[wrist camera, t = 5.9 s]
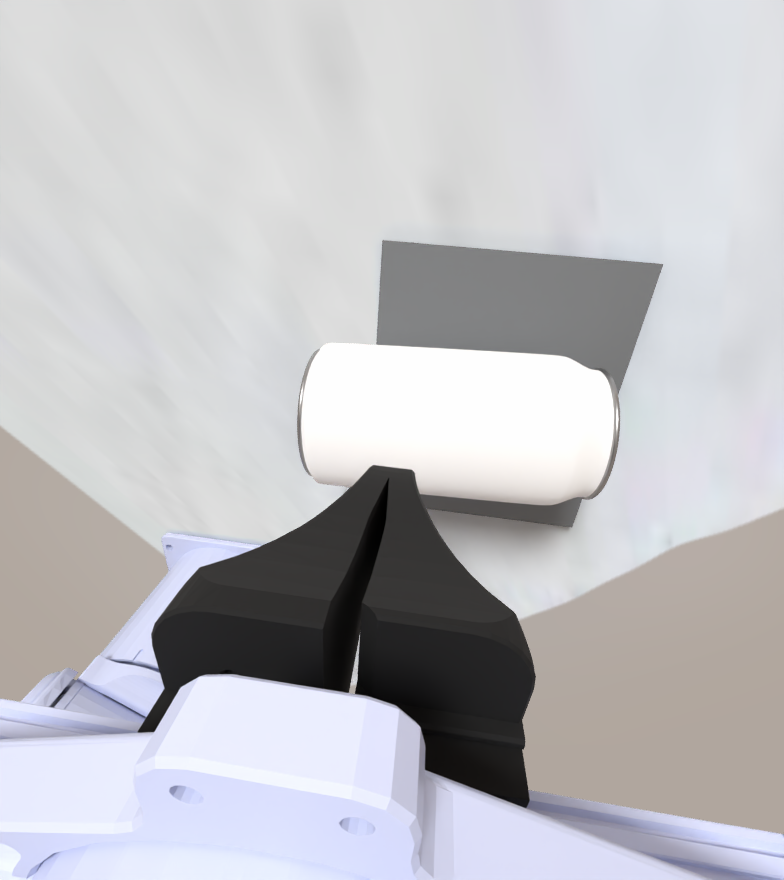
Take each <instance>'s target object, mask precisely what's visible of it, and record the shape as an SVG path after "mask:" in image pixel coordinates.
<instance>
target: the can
mask: <svg viewBox="0 0 784 880" xmlns="http://www.w3.org/2000/svg"><path fill="white" fill-rule="evenodd" d="M619 431H620V407H619V398H618V393H617V389H616V386H615V383H614V380H613V378H612V376H611V375H610V374H609V372H608V371H606V370H605V369H603V368H595V369H589V368H587V367H585V366H583V365H581V364H580V363H578V362H576V361H574V360H572V359H570V358H568V357H564V356H558V355H546V354H531V353H515V352H498V351H481V350H463V349H445V348H427V347H409V346H390V345H371V344H350V343H327V344H325V345H324V346H323V347H322V348H321V349H318V350H317V351H315V352H314V353H313V355H312V356H311V358H310V360H309V362H308V364H307V366H306V369H305V372H304V376H303V379H302V384H301V389H300V395H299V403H298V416H297V433H298V445H299V452H300V457H301V461H302V464H303V466H304V469H305V470H306V472H307V473H308V474H309V475H310V476H312V477H313V479H314V480H315V481H316V482H317V483H320V484H327V485H335V486H345V487H352V486H353V485H354V484H355V483H356V482H357V481H358V480H359V479H360V477H361V476H362V475H363V474H364V473H365V472H366V471H367V470H368V469H369V467H371V466H372V465H378V466H386V467H394V468H403V469H411V470H413V471H414V473H415V478H416V483H417V487H418V490H419V493H420V494H425V495H435V496H446V497H456V498H466V499H477V500H488V501H498V502H509V503H521V504H532V505H555V504H558V503H561V502H564V501H567V500H570V499H572V498H576V497H580V498H582V499H585V500H589V499H593V498H594V497H596V496H597V495H598V494H599V493H600V492H601V491H602V489H603V488H604V486H605V484H606V483H607V481H608V478H609V476H610V474H611V471H612V468H613V465H614V461H615V457H616V453H617V447H618V441H619Z"/></svg>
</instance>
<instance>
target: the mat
mask: <svg viewBox="0 0 784 880" xmlns="http://www.w3.org/2000/svg"><path fill="white" fill-rule="evenodd" d="M662 266H663V264H655V263H643V262H631V261H619V260H608V259H596V258H584V257H572V256H561V255H549V254H537V253H525V252H513V251H502V250H490V249H478V248H466V247H455V246H443V245H431V244H419V243H408V242H396V241H384V240H383V241H382V258H381V275H380V292H379V310H378V327H377V344H376V345H390V346H409V347H427V348H445V349H463V350H481V351H498V352H515V353H531V354H546V355H558V356H564V357H568V358H570V359H572V360H574V361H576V362H578V363H580V364H581V365H583V366H585V367H587V368H589V369H595V368H603V369H605V370H606V371H608V372H609V374H610V375H611V376H612V378H613V380H614V383H615V386H616V389H617V393H619V390H620V388H621V385H622V382H623V379H624V376H625V373H626V370H627V367H628V364H629V362H630V359H631V356H632V353H633V350H634V347H635V344H636V341H637V338H638V336H639V333H640V330H641V327H642V324H643V321H644V318H645V315H646V313H647V310H648V307H649V304H650V301H651V298H652V295H653V292H654V289H655V287H656V284H657V281H658V278H659V275H660V272H661V269H662ZM420 496H421V498H422V501H423V503H424V505H425V508H427V509H435V510H442V511H450V512H458V513H466V514H473V515H481V516H489V517H496V518H504V519H512V520H520V521H527V522H535V523H543V524H551V525H558V526H566V527H572V526H573V523H574V520H575V518H576V515H577V512H578V509H579V506H580V503H581V500H582V498H580V497H576V498H572V499H570V500H567V501H564V502H561V503H558V504H555V505H532V504H521V503H509V502H498V501H488V500H477V499H466V498H456V497H446V496H435V495H425V494H420Z"/></svg>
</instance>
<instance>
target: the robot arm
mask: <svg viewBox="0 0 784 880" xmlns="http://www.w3.org/2000/svg"><path fill="white" fill-rule="evenodd" d="M162 544H163V549H164V553H165V557H166V562H167V566H168V570H169V572H168V573H167V575H166V576H165V577H164V578H163V579H162V581H161V582H160V583H159V584H158V585H157V587H156V588H155V589H154V590H153V591H152V592H151V594H150V595H149V596H148V597H147V598H146V600H145V601H144V602H143V603H142V605H141V606H140V607H139V608H138V609H137V611H136V612H135V613H134V614H133V615H132V617H131V618H130V619H129V620H128V621H127V623H126V624H125V625H124V626H123V628H122V629H121V630H120V631H119V632H118V633H117V635H116V636H115V637H114V638H113V639H112V641H111V642H110V643H109V644H108V645H107V647H106V648H105V649H104V650H103V651H102V653H101V654H100V655H99V656H96V658H95V659H94V660H93V661H92V662H91V664H90V665H89V666H88V667H87V668H86V669H85V671H84V672H83V673H82V674H81V676H80V677H79V678H78V679H77V680H74V679H73V678H74V677H75V676H76V675H77V673H78V672H77V671H75V670H73V669H71V668H65V669H64V670H63V671H62V672H56V673H52V674H49V675H47V676H46V677H44V678H43V679H42V680H41V681H40V682H39V683H38V684H37V685H36V686H35V687H34V688H33V689H32V690H31V691H30V693H29V694H28V695H27V696H26V697H25V698H24V699H23V700H22V701H21V702H18V701H12V700H6V699H0V880H784V834H780V833H774V832H767V831H762V830H757V829H751V828H745V827H739V826H733V825H728V824H722V823H716V822H710V821H704V820H699V819H692V818H687V817H681V816H676V815H670V814H663V813H658V812H652V811H647V810H641V809H635V808H629V807H624V806H618V805H612V804H607V803H601V802H595V801H589V800H584V799H578V798H572V797H566V796H560V795H554V794H549V793H543V792H537V791H532V790H528V785H527V778H526V772H525V766H524V759H523V753H522V749H524V747H525V736H524V730H523V724H522V719H523V716H524V714H525V711H526V708H527V706H528V703H529V701H530V698H531V695H532V693H533V690H534V685H535V677H536V676H535V672H534V665H533V661H532V657H531V653H530V650H529V647H528V644H527V642H526V639H525V636H524V633H523V631H522V628H521V626H520V623H519V621H518V618H517V616H516V614H515V613H514V612H513V611H512V610H511V609H510V608H508V607H507V606H506V605H505V604H503V603H502V602H501V601H500V600H498V599H497V598H496V597H495V596H493V595H492V594H491V593H490V592H488V591H487V590H486V589H485V588H484V587H483V586H482V585H481V584H480V583H479V582H478V581H477V580H476V579H475V578H474V577H472V575H471V574H470V573H469V572H468V571H467V570H466V569H465V568H464V567H463V565H462V564H461V563H460V562H459V561H458V560H457V558H456V557H455V556H454V554H453V553H452V552H451V551H450V549H449V548H448V546H447V545H446V543H445V542H444V541H443V539H442V538H441V536H440V534H439V533H438V531H437V529H436V528H435V526H434V524H433V522H432V520H431V518H430V516H429V514H428V512H427V510H426V508H425V505H424V503H423V501H422V498H421V496H420V493H419V490H418V487H417V483H416V478H415V473H414V471H413V470H411V469H403V468H394V467H386V466H378V465H372V466H371V467H369V469H368V470H367V471H366V472H365V473H364V474H363V475H362V476H361V477H360V479H359V480H358V481H357V482H356V483H355V484H354V485H353V486H352V487H351V488H349V489H348V490H347V491H346V492H345V493H344V494H343V495H342V496H341V497H340V498H339V499H337V500H336V501H335V502H334V503H333V504H331V505H330V506H329V507H328V508H326V509H325V510H324V511H323V512H321V513H320V514H319V515H317V516H316V517H314V518H313V519H311V520H310V521H308V522H307V523H305V524H304V525H302V526H300V527H299V528H297V529H295V530H293V531H291V532H289V533H287V534H285V535H284V536H282V537H280V538H278V539H276V540H274V541H272V542H269V543H267V544H265V545H263V546H260V545H253V544H246V543H239V542H232V541H224V540H217V539H210V538H203V537H196V536H189V535H181V534H174V533H166V534H165V535H164V536H163V537H162ZM359 635H360V646H359V663H358V680H357V686H356V691H355V694H351V693H349V688H350V683H351V678H352V672H353V667H354V661H355V656H356V651H357V646H358V640H359Z"/></svg>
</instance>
